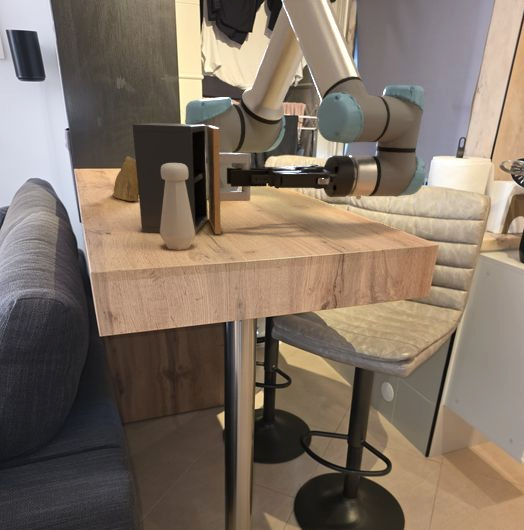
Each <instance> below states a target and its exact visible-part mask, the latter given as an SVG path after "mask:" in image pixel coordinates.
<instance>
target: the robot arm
mask: <svg viewBox="0 0 524 530" xmlns="http://www.w3.org/2000/svg"><path fill="white" fill-rule="evenodd" d="M281 2H282V6H281V9H280V11H279V14H278V17H277V19H276V22H275V24H274V27H273V30H272V32H271V35H270V38H269V40H268V42H267V43H268V44H267V46H266V48H265V51H264V54H263V56H262V59H261V62H260V65H259V66H258V69H257V73H256V74H255V77H254V80H253V83H252V86H251V87H250V88H247V89H245V90H244V91H243V93H242V95H241V98H240V101H239V103H233V101H232V98H231V97H213V98H211V97H210V98H202V99H194V100H190V101H189V102H188V103H187V104H186V106H185V118H184V119H185V120H184V124H197V125H205V131H206V171H207V200H209V199H208V158H207V126H214V127H217V128H219V152H220V153H257V154H260V153H261V154H262V153H265V152H271V151H273V150H275V149H276V148H277V147H278V146H279V145H280V144H281V142H282V141H283V138H284V136H285V133H286V132H285V131H286V128H285V126H286V117H285V110H284V106H283V103H284V101H285V98H286V96H287V93H288V92H289V89H290V87H291V85H292V82H293V80H294V78H295V76H296V73H297V71H298V69H299V67H300V64H301V62H302V61H303V58H304V60H305V62H306V65H307V68H308V71H309V73H310V76H311V78H312V80H313V83H314V85H315V88H316V91H317V94H318V95H319V98H320V101H321V102H320V103H319V106H318V107H317V113H316V119H317V124H316V126H317V130H318V132H319V134H320V136H321V137H322V138H323V139H324V140H326V141H328V142H332V143H341V144H352V143H376V145H375V151H376V152H375V155H365V154H364V155H359V154H358V155H357V154H356V155H355V154H351V155H330V156H329V157H327V159H326V160H325V162H324V165H323V166H322V165H318V164H309V165H296V166H263V165H262V166H260V167H251V170H242V167H233V165H232V164H233V163H220V191H239V188H240V187H241V188H242V187H250V188H251V187H269V188H275V189H315V190H322V189H323V191H324V194H325V195H326V196H327V197H329V198H346V197H350V198H351V197H353V198H355V199H356V200H359V201H360V200H361V199H362V197H395V198H397V197H404V196H412V195H415V194H416V193H418V192H419V191H420V190H421V189H422V187H423V186H424V183H425V180H426V174H427V172H426V170H425V169H426V164H425V161H424V160H423V159H422V157H420V156H417V155H416V154H417V152H416V150H417V146H418V140H419V134H420V130H421V129H420V128H421V122H422V118H423V115H424V103H425V102H424V101H425V94H426V93H425V89H424V88H423V87H422V86H420V85H410V84H409V85H408V84H394V85H393V84H392V85H387V86H385V88H384V90H383V94H382V95H372V94H371V95H370V94H368V92H367V89H366V86H365V84H364V82H363V80H362V77H361V75H360V72H359V70H358V67H357V65H356V62H355V59H354V57H353V55H352V52H351V50H350V48H349V45H348V43H347V40H346V38H345V35H344V32H343V30H342V28H341V24H340V23H339V20H338V17H337V15H336V12H335V10H334V8H333V5H334V4H335V3H336V2H337V0H281Z"/></svg>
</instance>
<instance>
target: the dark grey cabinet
mask: <svg viewBox="0 0 524 530" xmlns="http://www.w3.org/2000/svg"><path fill="white" fill-rule="evenodd" d="M131 127H132V138H133V147H134V159H135V161H136V170H137V181H138V192H139V198H138V201H139V202H138V204H139V211H140V222H141V223H140V224H141V232H142V233H153V234H155V233H156V234H158V233H159V234H160V226H161V216H162V207H163V198H164V188H165V180H164V179H162V177H161V166H162V165H163V164H166V163H182V164H185V165H186V166H187V168H188V179H186V180H185V184H186V189H187V194H188V199H189V204H190V209H191V214H192V219H193V224H194V229H195V235H196V234H197V233H198V232H199V231H200V230H201V229H202V227H203V226H204V225H205V224H206V223H207V222H208V220H209V209H208V199H207V171H206V131H205V125H197V124H186V123H165V122H164V123H163V122H149V123H132V124H131Z"/></svg>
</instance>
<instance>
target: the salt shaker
mask: <svg viewBox="0 0 524 530" xmlns="http://www.w3.org/2000/svg"><path fill="white" fill-rule="evenodd" d="M161 177H162V179H164V180H165V188H164V198H163V207H162V216H161V226H160V233H159V234H160V237H161V239H162V241H163V242H164V244H165V246H166V248H167V249H169V250H176V251H181V250H187V249H190V248H191V246H192V243H193V241H194V239H195V236H196V234H195V229H194V224H193V219H192V214H191V209H190V204H189V199H188V194H187V189H186V184H185V180H186V179H188V168H187V166H186V165H185V164H182V163H166V164H163V165H162V166H161Z"/></svg>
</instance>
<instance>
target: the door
mask: <svg viewBox="0 0 524 530" xmlns="http://www.w3.org/2000/svg"><path fill="white" fill-rule="evenodd" d="M207 158H208V199H207V200H208V220H209V223H210V225H211V228H212V230H213V232H214V235H221V231H222V230H221V202H249V201H251V187H241V190H238V191H220V163H232V164H240V165H241V168H242V170H251V168H252V154H251V152H236V153H220V152H219V128H217V127H214V126H207Z"/></svg>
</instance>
